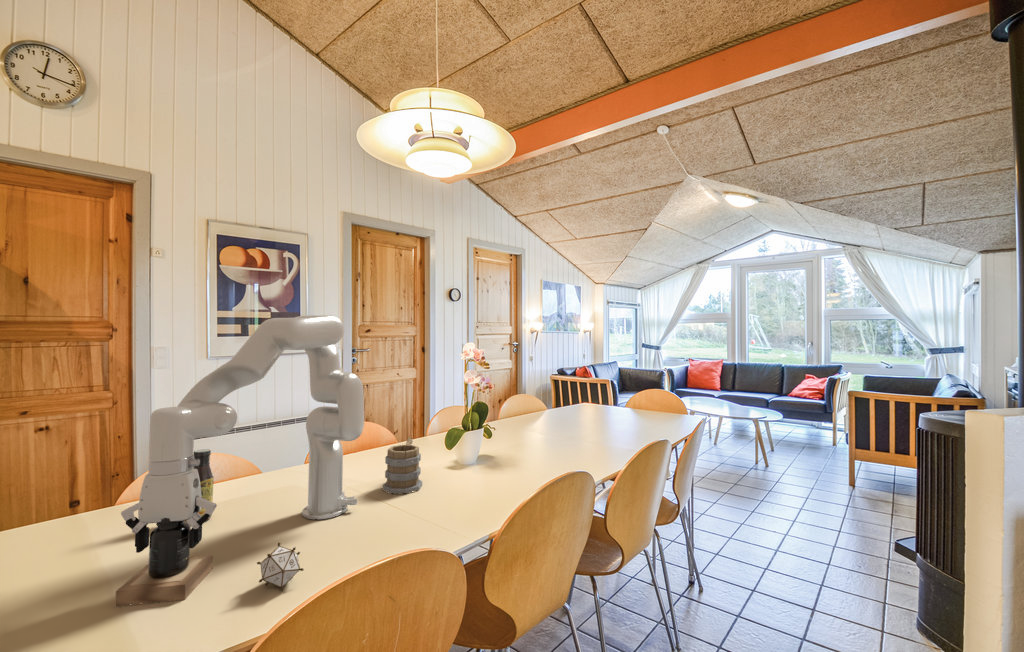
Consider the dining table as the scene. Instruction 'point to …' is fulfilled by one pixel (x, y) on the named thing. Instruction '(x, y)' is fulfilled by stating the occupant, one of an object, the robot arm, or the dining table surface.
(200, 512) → the sauce bottle
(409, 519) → the dining table surface
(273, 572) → the game die
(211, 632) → the dining table surface
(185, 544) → the supplement bottle
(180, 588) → the walnut base
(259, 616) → the dining table surface
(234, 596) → the dining table surface
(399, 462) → the tankard
